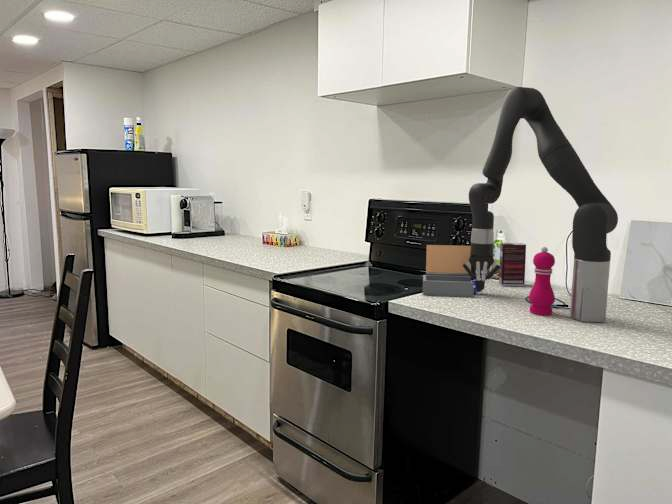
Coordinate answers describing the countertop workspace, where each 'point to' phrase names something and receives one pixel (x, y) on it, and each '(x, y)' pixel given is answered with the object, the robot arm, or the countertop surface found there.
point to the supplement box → (512, 264)
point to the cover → (447, 260)
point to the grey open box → (448, 285)
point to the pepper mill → (542, 284)
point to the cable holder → (474, 286)
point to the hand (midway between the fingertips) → (479, 290)
